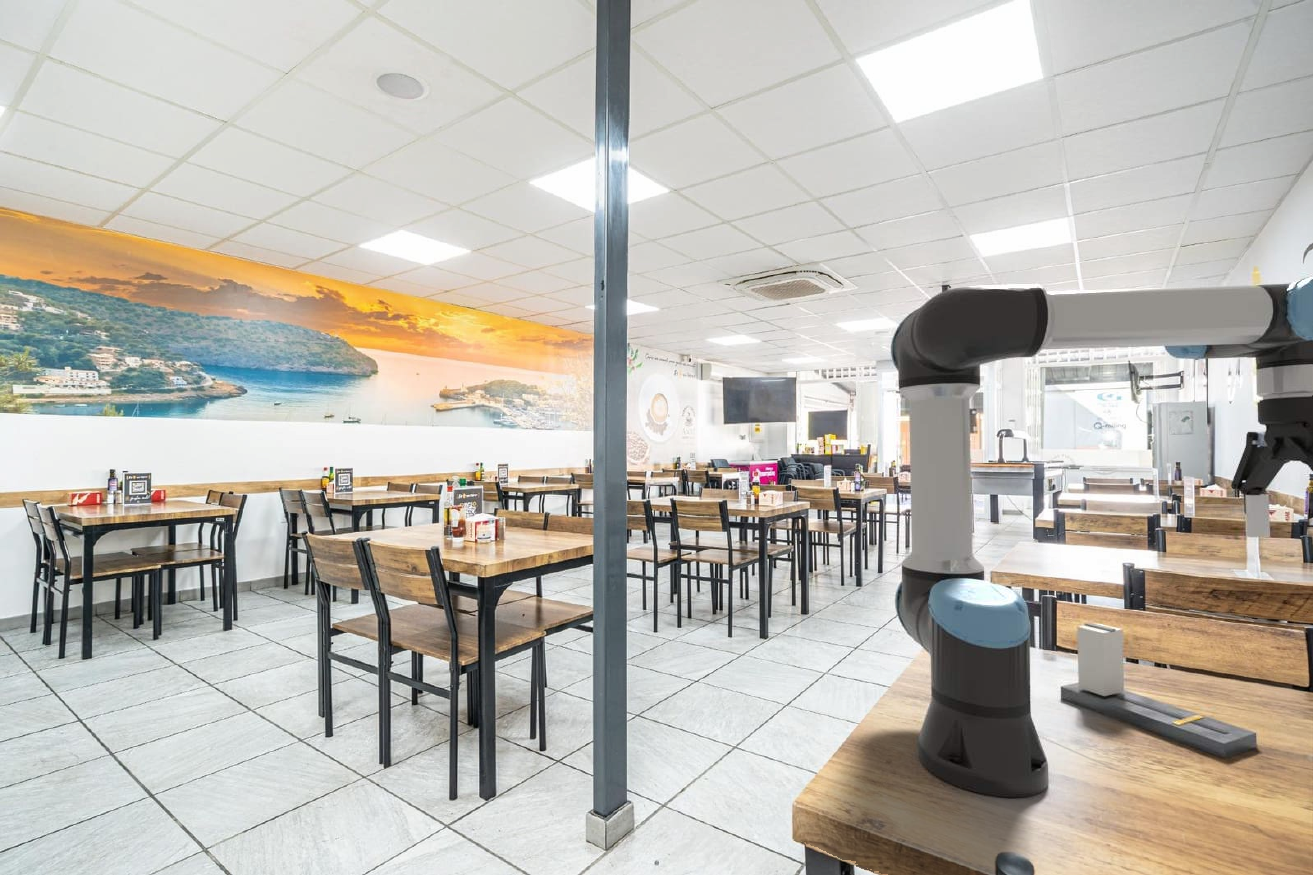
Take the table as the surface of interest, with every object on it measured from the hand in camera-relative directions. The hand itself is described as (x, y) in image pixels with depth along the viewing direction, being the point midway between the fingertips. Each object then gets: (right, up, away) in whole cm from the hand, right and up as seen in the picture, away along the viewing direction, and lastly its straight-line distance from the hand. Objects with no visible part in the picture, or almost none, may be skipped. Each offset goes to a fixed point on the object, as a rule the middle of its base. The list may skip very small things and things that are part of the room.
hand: (1297, 543), depth 89 cm
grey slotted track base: (-17, -28, +5) cm, 33 cm away
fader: (-20, -26, +12) cm, 35 cm away
